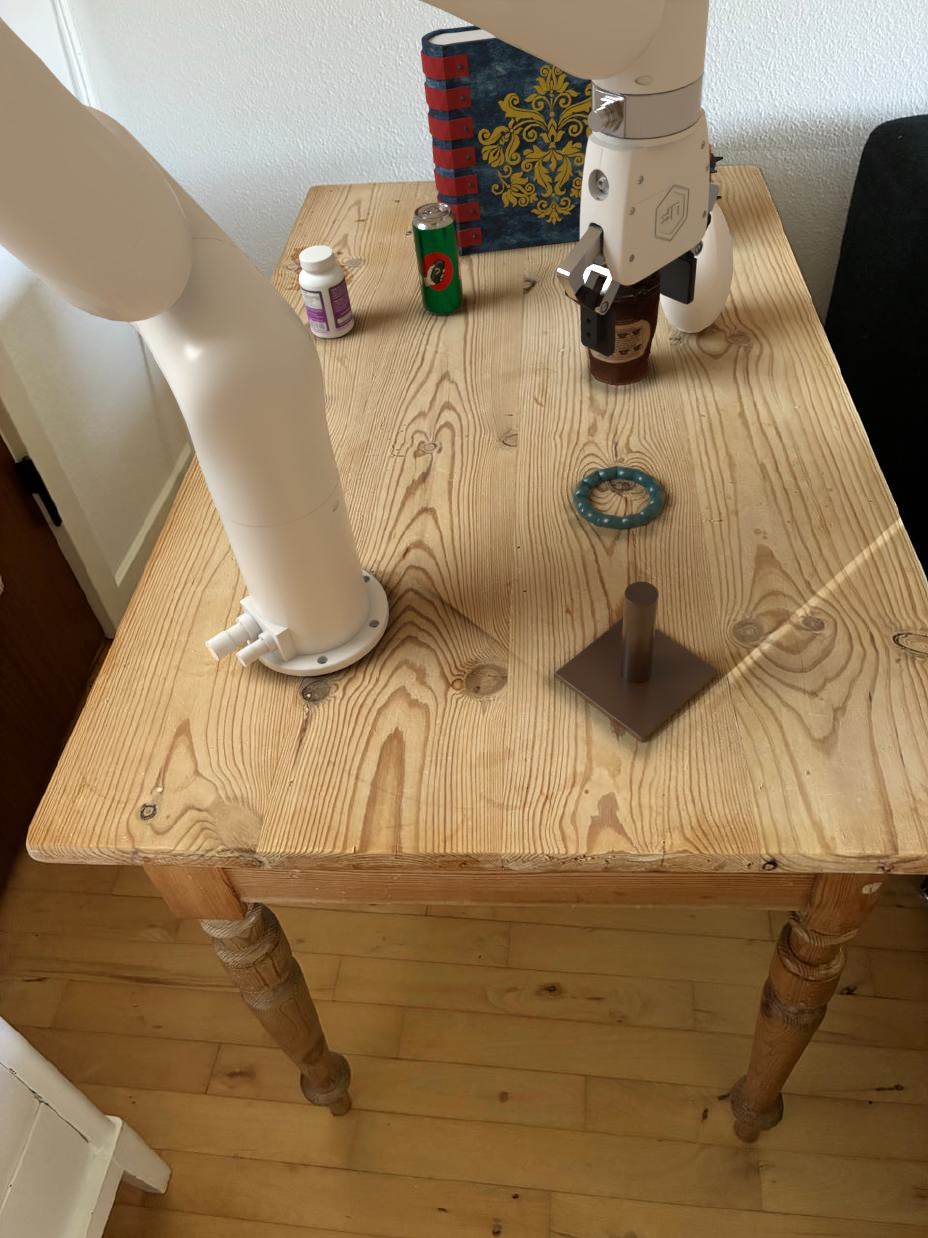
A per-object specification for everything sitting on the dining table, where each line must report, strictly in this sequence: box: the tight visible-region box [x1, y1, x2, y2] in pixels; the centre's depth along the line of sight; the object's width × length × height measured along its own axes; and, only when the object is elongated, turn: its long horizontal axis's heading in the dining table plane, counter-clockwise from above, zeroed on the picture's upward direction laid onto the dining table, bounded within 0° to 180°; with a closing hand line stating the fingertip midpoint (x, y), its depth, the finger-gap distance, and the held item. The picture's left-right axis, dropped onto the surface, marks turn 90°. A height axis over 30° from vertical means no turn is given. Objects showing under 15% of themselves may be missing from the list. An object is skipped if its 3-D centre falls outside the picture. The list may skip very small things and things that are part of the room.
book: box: [420, 25, 592, 257], centre depth 116 cm, size 25×7×25 cm, turn 94°
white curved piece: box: [659, 201, 734, 334], centre depth 101 cm, size 8×8×18 cm
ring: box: [572, 465, 667, 531], centre depth 88 cm, size 8×8×1 cm
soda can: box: [411, 201, 465, 317], centre depth 111 cm, size 5×5×12 cm
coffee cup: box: [587, 263, 661, 387], centre depth 98 cm, size 9×8×13 cm
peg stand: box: [554, 581, 719, 743], centre depth 71 cm, size 9×9×10 cm
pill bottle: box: [298, 244, 355, 339], centre depth 111 cm, size 5×5×10 cm
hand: (637, 323), depth 78 cm, fingers open, 9 cm apart
